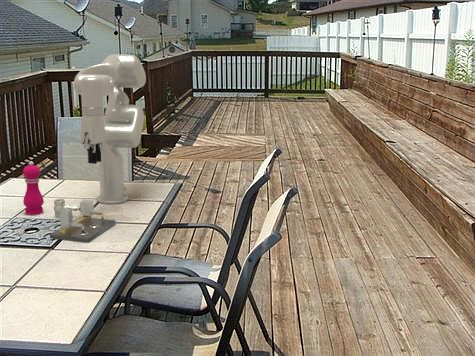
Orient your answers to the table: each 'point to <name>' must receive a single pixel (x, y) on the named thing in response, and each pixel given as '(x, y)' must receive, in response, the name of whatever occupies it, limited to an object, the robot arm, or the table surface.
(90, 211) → the block
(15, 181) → the table surface
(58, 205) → the valve
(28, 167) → the magenta pepper mill
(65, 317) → the table surface
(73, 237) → the bolt plate
